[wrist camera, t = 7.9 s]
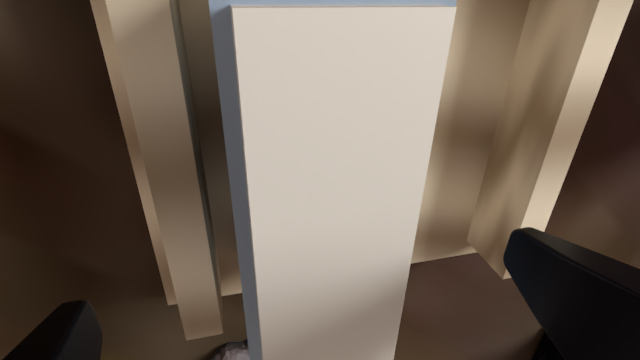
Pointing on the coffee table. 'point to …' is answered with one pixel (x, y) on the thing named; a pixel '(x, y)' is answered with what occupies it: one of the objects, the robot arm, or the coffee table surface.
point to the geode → (232, 351)
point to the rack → (446, 152)
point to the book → (327, 163)
